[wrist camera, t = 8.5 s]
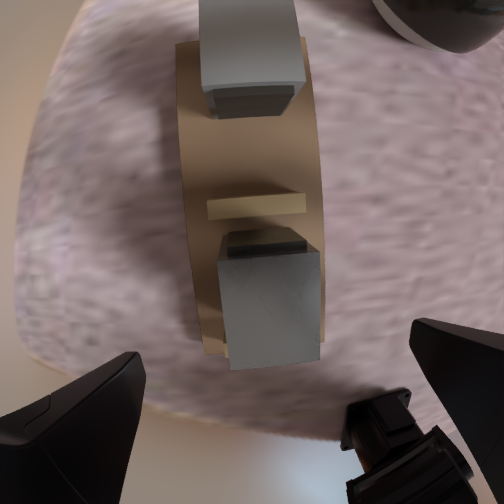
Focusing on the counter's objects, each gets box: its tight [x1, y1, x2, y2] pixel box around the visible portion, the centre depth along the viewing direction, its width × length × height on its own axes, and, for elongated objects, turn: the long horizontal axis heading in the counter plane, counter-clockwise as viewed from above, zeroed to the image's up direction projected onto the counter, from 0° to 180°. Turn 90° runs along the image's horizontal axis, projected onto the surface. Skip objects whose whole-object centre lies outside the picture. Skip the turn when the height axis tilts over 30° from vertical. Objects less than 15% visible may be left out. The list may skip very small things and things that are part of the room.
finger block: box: [217, 227, 321, 370], centre depth 15 cm, size 5×4×6 cm
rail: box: [176, 0, 325, 358], centre depth 15 cm, size 20×8×8 cm, turn 4°
